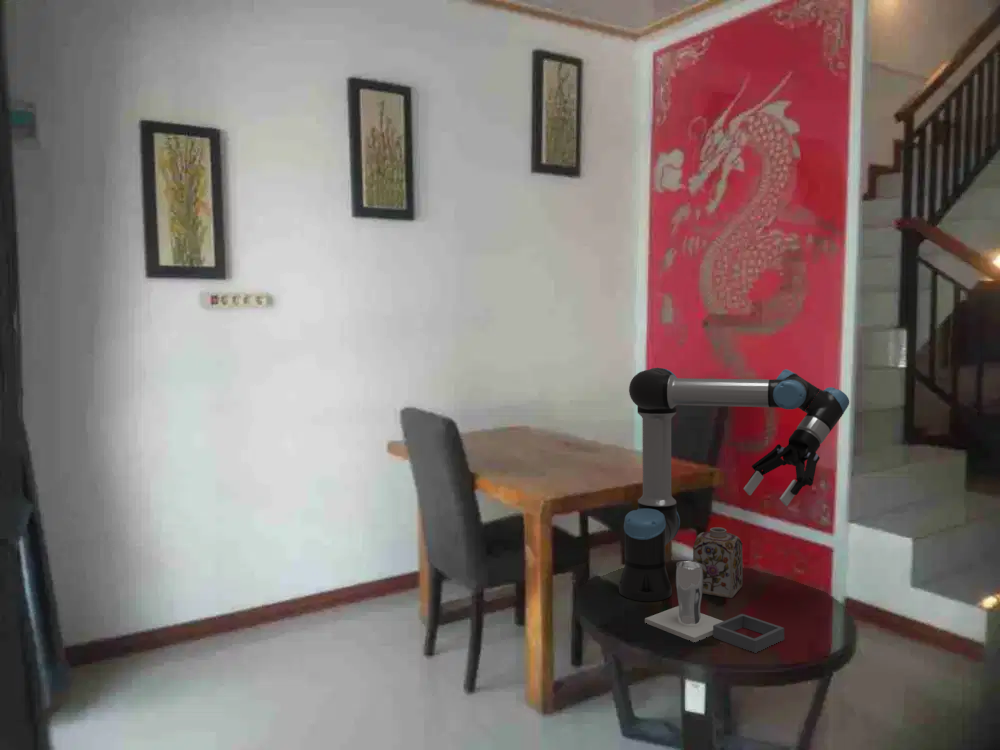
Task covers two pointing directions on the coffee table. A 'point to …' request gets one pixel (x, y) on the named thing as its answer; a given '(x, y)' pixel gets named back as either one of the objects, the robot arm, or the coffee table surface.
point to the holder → (728, 634)
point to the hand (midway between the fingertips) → (764, 497)
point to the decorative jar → (719, 562)
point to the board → (671, 625)
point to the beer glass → (689, 592)
